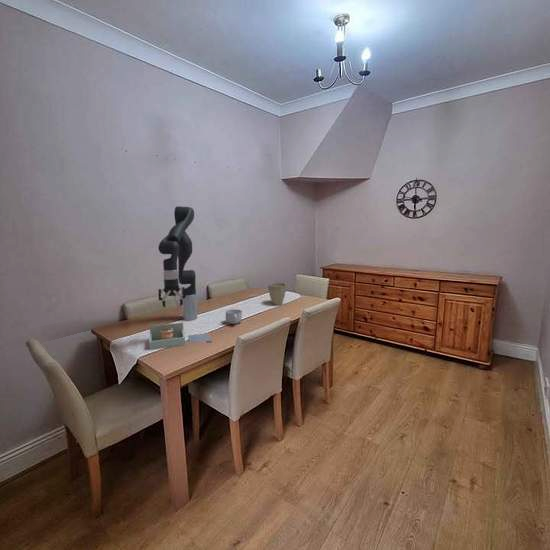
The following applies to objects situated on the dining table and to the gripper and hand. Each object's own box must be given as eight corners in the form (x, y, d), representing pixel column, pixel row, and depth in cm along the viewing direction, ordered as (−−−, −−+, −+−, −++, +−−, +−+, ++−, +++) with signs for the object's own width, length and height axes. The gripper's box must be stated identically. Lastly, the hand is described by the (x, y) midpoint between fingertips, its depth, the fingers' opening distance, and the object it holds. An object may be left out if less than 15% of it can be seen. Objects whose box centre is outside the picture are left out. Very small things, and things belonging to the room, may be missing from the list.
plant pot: (287, 301, 249) (287, 282, 246) (285, 306, 235) (285, 286, 232) (269, 300, 251) (269, 282, 248) (266, 306, 237) (266, 286, 234)
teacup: (226, 320, 205) (226, 308, 203) (242, 319, 206) (242, 308, 204) (224, 327, 191) (224, 315, 190) (241, 326, 192) (241, 314, 191)
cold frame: (150, 341, 170) (149, 325, 168) (183, 337, 176) (182, 322, 174) (149, 351, 157) (148, 334, 156) (185, 346, 163) (184, 330, 161)
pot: (161, 340, 168) (160, 328, 167) (173, 339, 170) (172, 327, 169) (161, 345, 162) (160, 332, 161) (174, 343, 164) (173, 331, 163)
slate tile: (187, 337, 176) (187, 335, 175) (208, 334, 180) (208, 332, 179) (189, 345, 164) (189, 343, 164) (211, 342, 168) (211, 340, 168)
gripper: (184, 275, 173) (185, 303, 175) (157, 277, 168) (159, 306, 171) (185, 278, 166) (186, 306, 169) (157, 279, 161) (159, 309, 164)
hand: (172, 306), depth 170 cm, fingers open, 8 cm apart
